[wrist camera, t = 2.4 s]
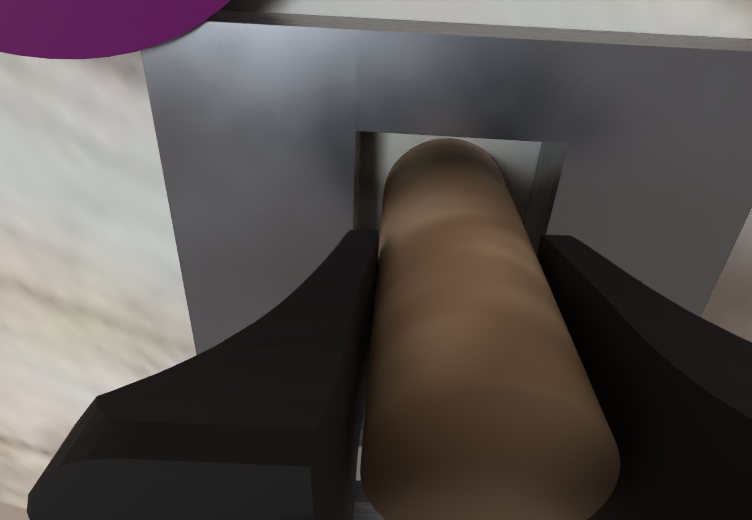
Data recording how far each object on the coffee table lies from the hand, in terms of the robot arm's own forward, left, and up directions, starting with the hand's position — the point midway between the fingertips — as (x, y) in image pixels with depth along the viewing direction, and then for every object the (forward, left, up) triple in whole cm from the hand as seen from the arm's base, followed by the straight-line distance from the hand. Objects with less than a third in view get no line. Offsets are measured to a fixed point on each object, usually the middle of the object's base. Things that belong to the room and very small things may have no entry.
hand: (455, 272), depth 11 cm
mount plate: (0, +4, -4) cm, 6 cm away
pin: (0, 0, -4) cm, 4 cm away
